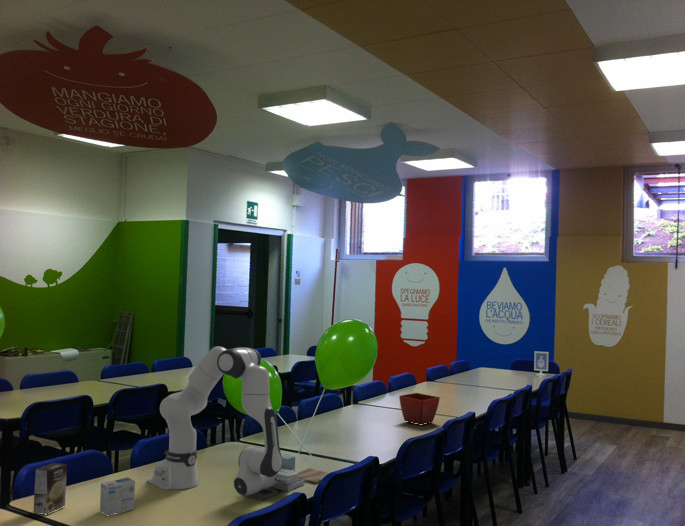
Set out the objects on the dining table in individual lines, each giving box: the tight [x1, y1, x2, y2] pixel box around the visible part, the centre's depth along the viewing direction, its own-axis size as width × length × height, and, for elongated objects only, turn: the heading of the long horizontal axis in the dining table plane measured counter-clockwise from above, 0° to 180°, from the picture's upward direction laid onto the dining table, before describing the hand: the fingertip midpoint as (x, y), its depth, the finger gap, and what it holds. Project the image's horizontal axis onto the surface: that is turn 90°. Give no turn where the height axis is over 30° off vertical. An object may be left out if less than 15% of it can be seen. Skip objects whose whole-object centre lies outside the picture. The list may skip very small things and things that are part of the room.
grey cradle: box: [272, 479, 305, 492], centre depth 261 cm, size 11×11×2 cm
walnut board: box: [297, 467, 330, 485], centre depth 274 cm, size 14×14×1 cm
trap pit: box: [246, 488, 278, 502], centre depth 248 cm, size 9×9×2 cm
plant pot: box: [398, 392, 441, 424], centre depth 391 cm, size 19×19×17 cm
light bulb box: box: [99, 476, 136, 516], centre depth 227 cm, size 11×7×11 cm, turn 135°
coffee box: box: [32, 462, 68, 514], centre depth 225 cm, size 9×6×16 cm
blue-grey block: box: [278, 454, 296, 486], centre depth 262 cm, size 5×5×12 cm
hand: (287, 469), depth 262 cm, fingers closed on blue-grey block, 5 cm apart
